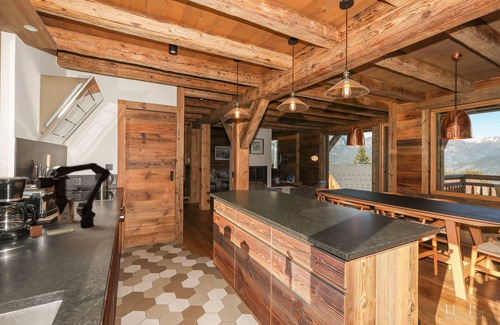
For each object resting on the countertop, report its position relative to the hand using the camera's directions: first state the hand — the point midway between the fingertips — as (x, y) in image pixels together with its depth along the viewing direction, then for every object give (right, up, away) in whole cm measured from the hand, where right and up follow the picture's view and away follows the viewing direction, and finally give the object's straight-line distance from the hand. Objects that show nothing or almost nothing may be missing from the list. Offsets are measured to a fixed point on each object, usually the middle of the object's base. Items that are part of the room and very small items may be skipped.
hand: (60, 213), depth 140 cm
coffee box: (-14, -11, +23) cm, 29 cm away
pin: (0, -5, 0) cm, 5 cm away
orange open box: (-10, -11, -5) cm, 16 cm away
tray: (0, -11, 0) cm, 11 cm away
